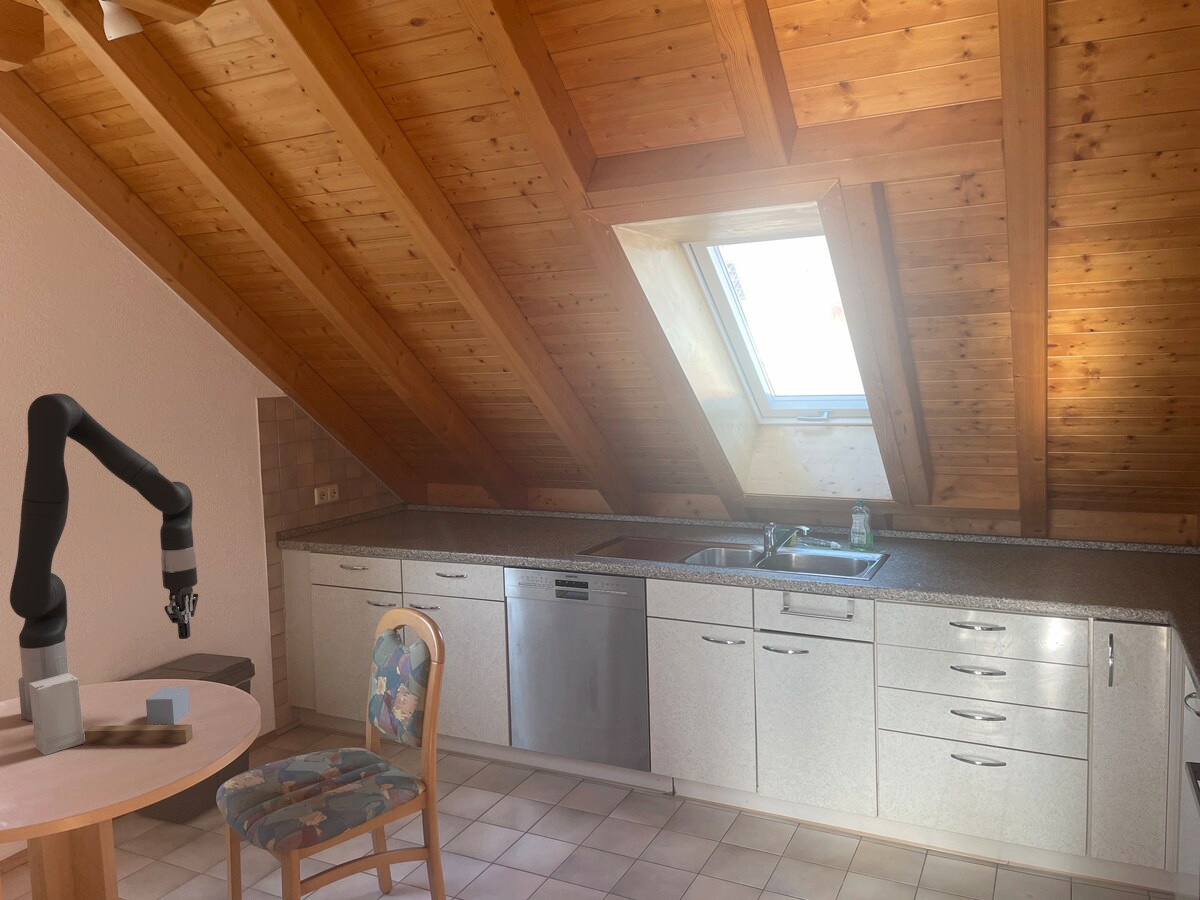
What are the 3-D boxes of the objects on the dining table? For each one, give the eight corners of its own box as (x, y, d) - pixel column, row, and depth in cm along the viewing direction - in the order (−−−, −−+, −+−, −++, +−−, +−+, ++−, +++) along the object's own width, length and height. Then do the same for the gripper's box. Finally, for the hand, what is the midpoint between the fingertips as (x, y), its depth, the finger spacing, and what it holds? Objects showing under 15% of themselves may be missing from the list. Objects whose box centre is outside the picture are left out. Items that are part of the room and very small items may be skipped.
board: (85, 744, 206) (84, 731, 206) (93, 739, 209) (91, 725, 209) (186, 743, 206) (185, 729, 205) (192, 737, 209) (191, 724, 208)
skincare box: (75, 737, 211) (70, 671, 209) (85, 744, 207) (80, 677, 205) (33, 749, 205) (27, 681, 203) (42, 756, 201) (37, 687, 199)
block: (147, 725, 217) (145, 699, 217) (164, 712, 225) (162, 687, 225) (174, 724, 217) (172, 699, 216) (189, 711, 225) (188, 686, 224)
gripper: (176, 561, 235) (182, 630, 236) (149, 573, 221) (155, 646, 223) (206, 560, 234) (212, 629, 236) (181, 572, 221) (187, 646, 223)
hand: (184, 637), depth 229 cm, fingers closed
